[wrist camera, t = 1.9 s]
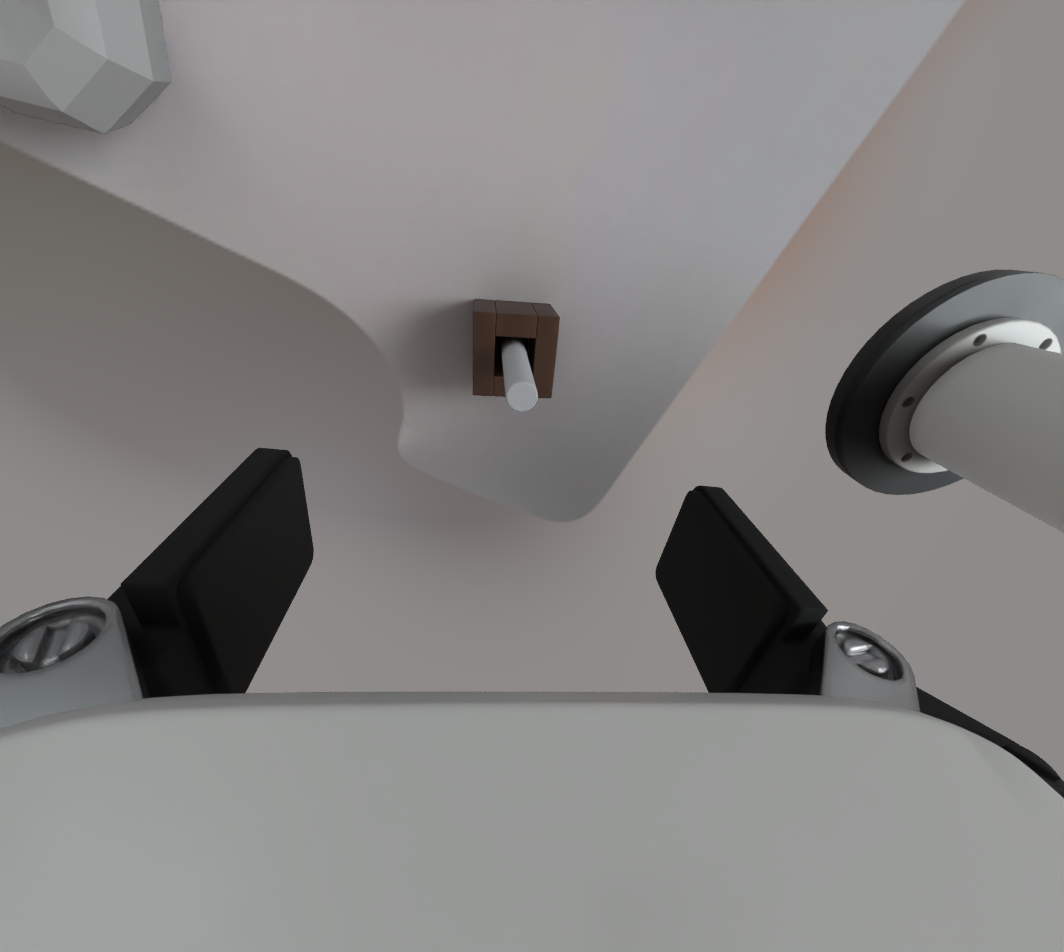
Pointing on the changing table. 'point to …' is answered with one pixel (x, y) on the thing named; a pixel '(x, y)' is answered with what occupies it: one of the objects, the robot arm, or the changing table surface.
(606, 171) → the changing table surface
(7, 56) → the apple
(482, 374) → the pen block
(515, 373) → the stylus
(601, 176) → the changing table surface
